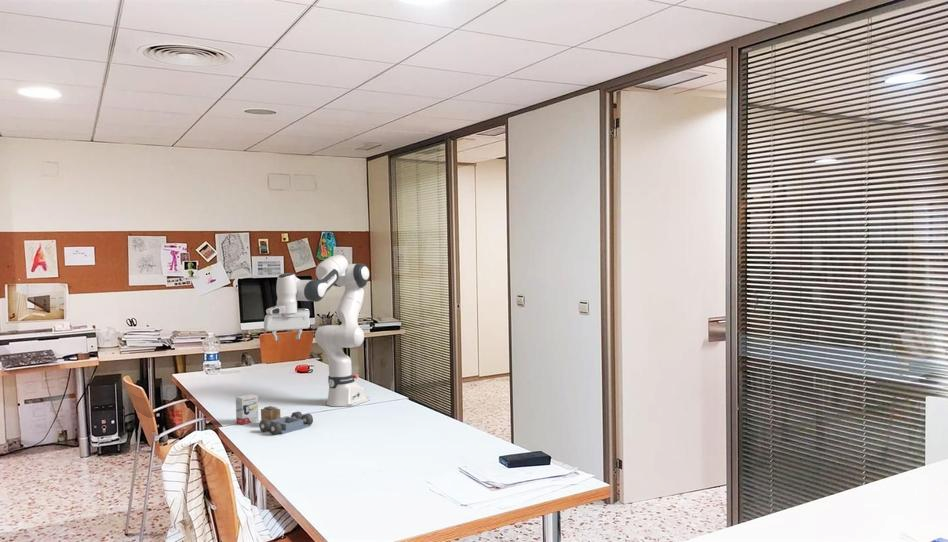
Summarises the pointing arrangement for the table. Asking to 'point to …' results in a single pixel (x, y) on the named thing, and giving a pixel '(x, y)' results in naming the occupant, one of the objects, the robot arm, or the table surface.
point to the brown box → (270, 413)
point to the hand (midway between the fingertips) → (287, 339)
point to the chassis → (286, 423)
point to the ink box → (246, 409)
